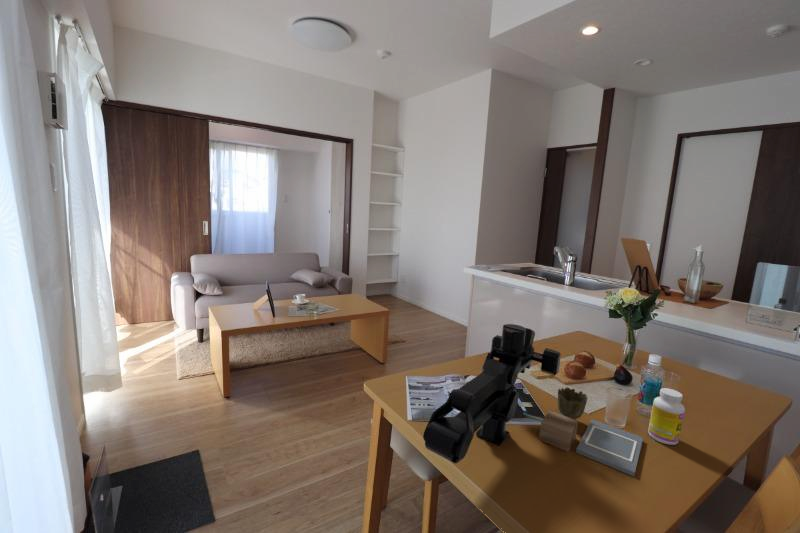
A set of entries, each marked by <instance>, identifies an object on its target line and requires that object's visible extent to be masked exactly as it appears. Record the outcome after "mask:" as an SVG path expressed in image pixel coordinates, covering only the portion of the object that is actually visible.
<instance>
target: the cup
mask: <svg viewBox="0 0 800 533" xmlns="http://www.w3.org/2000/svg"><path fill="white" fill-rule="evenodd" d="M587 402H588V396H587V394H586V393H583V391H575V388H572V389H571V388H569V387H565V388H564V387H561V388H558V390H557V408H558V411H559V413H560V415H563V416H565V417H568V418H571V419H574V420H576V421H578V420H577V419H579V418H581V417H582V416H583V414H584V412H585V409H586V405H587Z"/></svg>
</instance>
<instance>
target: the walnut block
mask: <svg viewBox="0 0 800 533" xmlns="http://www.w3.org/2000/svg"><path fill="white" fill-rule="evenodd" d="M578 425H579V421H578V420H574V419H571V418H568V417H565V416H563V415H562V414H561V413H560V414H559V413H558V412H554V411H551V410H549V411H548V412H547V414H546V415H545V416H544V417H543V419H542V421H540V426H539V427H540V428H539V434H538V435H539V437H538V440H540V441H542V442H544V443H546V444H549V445H552V446H554V447H556V448H559V449H561V450H563V451H566V452H569V451H570V449H571V447H572V446H573V444H574V442H575V440H576V437H577V430H578Z"/></svg>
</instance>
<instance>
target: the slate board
mask: <svg viewBox="0 0 800 533" xmlns="http://www.w3.org/2000/svg"><path fill="white" fill-rule="evenodd" d="M643 439H644V437H643V436H640V435H637V434H635V433H631V432H628V431H626V430H623V429H620V428H618V427H616V426H615V427H614V426H612V425H609V424H606V423H604V422H601V421H598V420H595V419H591V420H590V422H589V424H588V425H587V427H586V430H585V431H584V433H583V436H582V438H581V439H580V441H579V443H578V445H577V447H576V451H575V453H577V454H578V455H582V456H584V457H587V458H588V459H591V460H593V461H597V462H598V463H601V464H603V465H606V466H608V467H610V468H612V469H615V470H618V471H619V472H622V473H623V474H627V475H629V476H631V477H635V475H636V471H637V470H636V469H637V467H638V466H637V465H638V462H639V458H640V454H641V450H642V445H643Z"/></svg>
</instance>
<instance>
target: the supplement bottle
mask: <svg viewBox="0 0 800 533" xmlns="http://www.w3.org/2000/svg"><path fill="white" fill-rule="evenodd" d="M682 401H683V394H682V393H681V392H679V391H678V390H675V389H672V388H669V387H662V388H660V390H659V396H657V397H655V398H654V399H653V402H652V408H651V413H650V417H649V425H648V430H647V431H648V432H647V433H648V434H649V436H650V437H651V438H652V439H653V440H655V441H656V442H659V443H661V444H663V445H664V444H665V445H668V446H670V445H671V446H674V445H677V444H679V443H680V442H679V441H680V438H681V433H682V426H683V421H684V416H685V411H686V408H685V406H684V405H683V403H681V402H682Z"/></svg>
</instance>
